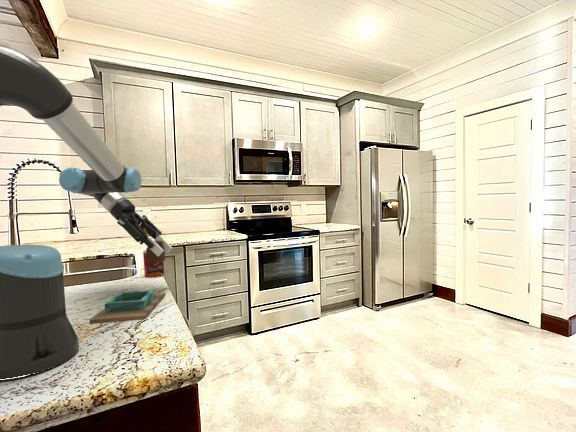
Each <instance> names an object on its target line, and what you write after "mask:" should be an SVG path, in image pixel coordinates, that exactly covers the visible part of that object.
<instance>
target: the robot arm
mask: <svg viewBox="0 0 576 432" xmlns="http://www.w3.org/2000/svg"><path fill="white" fill-rule="evenodd" d="M73 102H74V96H73V94H72V93H71V92H70V91H69V89H68V88H67V87H66V86H65V84H64V83H63V82H62V81H60V79H59V78H58V77H57V76H55V74H53V73H52V72H51V71H50V70H49V69H47V68H46V67H45V66H44V65H42V64H41V63H40V62H38V61H37V60H35V59H33V58H32V57H31V56H29V55H27V54H26V53H24V52H22V51H20V50H18V49H15V48H13V47H10V46H8V45H7V46H6V45H4V44H0V107H3V106H4V107H5V106H16V107H19V108H21V109H24V111H26V112H27V113H29V115H31V117H33V118H34V119H36V120H41V121H43V122H44V123H45V124H46V126H48V127H49V128H50V129H51V130H52V131H53V132H54V133H55V134H56V135H57V136H58V137H59V138H60V139H61V140H62V141H63V143H65V144H66V145H67V146H68V147H69V148H70V149H71V150H72V151H73V152H74V153H75V154H76V155H77V156H78V157H79V158H80V159H81V161H83V162H84V163H85V164H86V165H87V166H88V167H89V168H90V169H81V168H79V167H66V168H65V169H64V170H62V171H61V173H60V174H59V178H58V182H59V185H60V187H61V188H62V189H64V190H65V191H67V192H71V193H73V194H78V195H79V194H80V195H83V196H89V197H93V198H94V199H95V200H96V201H97V202H98V203H99V204H100V205H101V206H102V207H103V208H104V210H105V211H107V212H108V213H110V215H111V216H112V217H113V218H114V219H115V220H116V221H117V222H116V223H117V224H118V225H119V226H121V227H122V228H123V229H124V230H125V231H126V233H128V234H129V236H130V237H132V238H133V240H134V241H135V242H136V243H139V244H140V245H143V244H144V245H145V246H146V247H149V248H150V249H151V250H152V251H153V252H154V253H155V254H156V255H157V256H160V254H161V253H162V252H163V251H164V250H163V249H162V248H161V247H160V246H159V245H158V244H157V243H156V242H155V241H161V240H162V241H163V245H162V246H164V249H165V254H169V252H171V250H172V249H173V247H172V246H171V244H169V243H168V242H167V241H166V240H165V238H163V236H162V235H163V232H162V230H160V229H159V228H158V227H157V226H156V225H155V224H153V222H152V221H151V220H149V218H148V216H146V215H145V214H143V215H142V216H141V215H140V214H138V213H137V212H136V205H134V204H133V202H131V201H130V200H129V199H128V197H127V196H125V193H127V194H128V193H132V192H133V193H134V192H138V191H139V190H140V189H141V187H142V176H141V173H140V171H139V170H138V169H136V168H133V167H131V168H130V167H128V168H127V167H126V166H125V165H124V164H123V163H122V162H121V160H120V159H119V158H118V157H117V155H115V153H114V152H113V151H112V150H111V148H110V147H109V146H108V144H107V143H106V142H105V141H104V139H102V137H101V135H99V134H98V132H97V131H96V130H95V129H94V127H93V126H92V125H91V124H90V122H89V121H88V120H87V119H86V117H85V116H84V115H83V114H82V112H80V110H79V109H78V107H77V106H76V105H75V104H74V103H73ZM144 229H145V230H146V232H147V235H148V236H147V235H146V234H145V232H144ZM159 230H160V231H159ZM157 231H158V232H157ZM161 232H162V233H161ZM158 233H159V234H158ZM156 234H157V236H156ZM158 235H159V236H158ZM156 238H157V240H156ZM160 238H161V239H160ZM64 270H65V269H64V264H63V262H62V256H61V252H60V251H59V250H58V249H57V248H55V247H53V246H49V245H43V244H42V245H41V244H9V245H8V244H7V245H1V246H0V379H6V378H13V377H18V376H23V375H28V374H33V373H37V372H41V371H43V370H46V369H48V368H51V367H53V368H55V367H54V366H56V365H58V366H60V365H62V364H64V363H66V362H67V361H69V360H70V359H71V358H73V357H74V356H75V355H76V354H77V353H78V352H79V349H80V343H79V338H78V337H79V336H78V334H77V333H76V331H75V329H74V327H73V325H72V324H71V321H70V319H69V317H68V315H67V308H66V295H65V293H66V292H65V291H66V290H65V280H64ZM63 362H64V363H63ZM61 363H62V364H61ZM59 364H60V365H59ZM56 367H57V366H56ZM51 369H52V368H51ZM46 371H47V370H46ZM43 372H44V371H43ZM41 373H42V372H41Z"/></svg>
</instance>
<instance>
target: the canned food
mask: <svg viewBox="0 0 576 432" xmlns="http://www.w3.org/2000/svg"><path fill="white" fill-rule="evenodd" d="M142 254H143V268H144V269H143V270H144V277H145V276H147V277H155V278H157V277H156V276H160V277H162V276H164V275H165V267H164V266H165V265H164V262H165V261H164V262H160V263H148V262H147V256H146V249H145V250H143V252H142ZM161 274H162V275H161ZM147 277H146V278H147Z"/></svg>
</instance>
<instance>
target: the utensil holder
mask: <svg viewBox="0 0 576 432" xmlns="http://www.w3.org/2000/svg"><path fill="white" fill-rule="evenodd" d="M159 231H161V229H159ZM144 232H145V234H146V235H147V236H148V237H149V235H148V234H147V232H146V230H145V229H144ZM157 232H158V231H157ZM161 233H162V234H163V231H161ZM158 234H159V233H158ZM156 236H157V234H156ZM158 236H159V235H158ZM160 239H161V238H160ZM156 240H157V238H156ZM155 242H156V243H157V244H158V245H159V246H160V247H161V248H162V249H163V250H164V251H163V252H162V253H161V254H160V256H157V255H156V254H155V253H154V252H153V251H152V250H151V249H150V248H149V247H148V246H146V249H145V250H146V256H147V262H148V263H160V262H165V260H166V252H165V249H164V246H162V245H163V241H162V240H161V241H155Z"/></svg>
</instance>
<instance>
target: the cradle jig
mask: <svg viewBox="0 0 576 432" xmlns="http://www.w3.org/2000/svg"><path fill="white" fill-rule="evenodd" d="M165 297H166V292H157V293H156V290H155V289H149V290H135V291H134V290H133V291H121V292H120V291H119V293H117V294H115V295H114V296H113V297H111V298H110V299H109V300H107V301H106V302H105V303H104V308H103V309H102V310H100V311H99V312H97V314H94V316H92V317H91V318H90V319H89V324H99V323H101V324H102V323H111V322H112V323H113V322H124V321H125V322H127V321H136V320H146V319H147V318H148V316H150V315H151V313H152V312H153V311H154V310H155V309H156V307H157V306H158V305H159V303H160V302H162V300H163V299H164V298H165Z"/></svg>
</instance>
